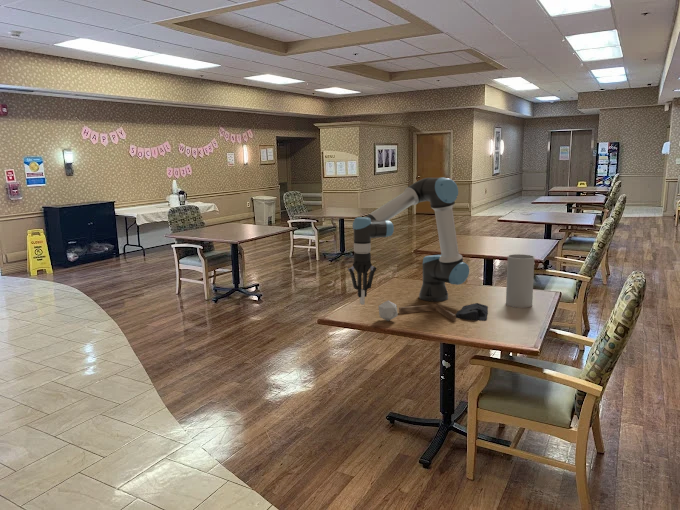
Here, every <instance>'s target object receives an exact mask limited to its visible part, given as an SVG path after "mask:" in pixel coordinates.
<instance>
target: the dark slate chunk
mask: <svg viewBox="0 0 680 510" xmlns="http://www.w3.org/2000/svg"><path fill="white" fill-rule="evenodd" d="M488 308H489V307H488V305H486V304H481V303H478V302H475V303H471V304H465V305H463V306H462V307H461V309H459V310H458V311H457V312H456V313H454V314H455V315H456V319H461V320H466V321H473V322H474V321H475V322H477V321H480V322H481V321H482V322H485V321H487V320H488V314H489V312H488Z"/></svg>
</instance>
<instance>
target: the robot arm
mask: <svg viewBox="0 0 680 510" xmlns="http://www.w3.org/2000/svg"><path fill="white" fill-rule="evenodd" d="M458 196H459V187H458V185H457V183H456V181H454V180H453V179H452V178H448V177H447V178H446V177H424V178H421V179H419V180H418V181H415V182H413V183H412V184H411V185H409V186H407V187H406V188H405V189H404V191H403V192H402V193H400V194H399V195H397V196H395V197H394V198H392V199H391V200H388V201H387V202H386V203H384V204H382V205H381V206H380V207H379V208H377V209H375V210H374V211H372V212H370V213H368V214H367V215H366V216H362V217H361V216H359V217H358V216H357V217H356V218H354V220H353V221H352V230H353V252H354V253H353V262H352V266H351V267H348V268H347V271H348V272H349V273H350V279H351V282H352V286H353V288H354V289H355V290H357V297H358V298H359V304H360V305H361V306H362V305H364V306H365V304H366V303H365V301H366V299H365V298H366V297H367V295H368V294H367V291H368V290H369V289H371V288H372V284H373V279H374V275H375V272H376V271H377V267H376V266H373V265H372V262H371V261H372V259H371V256H372V254H371V250H372V248H371V247H372V246H371V245H372V243H371V242H372V241H371V240H372V239H376V238H377V239H378V238H388V237H391V236H393V234H394V232H395V231H394V230H395V227H394V223H393V222H392V221H391V220H390V219H393V218H394V217H396V216H397V215H399V214H400V213H402V212H403V211H405V210H406V209H408V208H409V207H411V206H416V205H418V204H419V203H423V202H429V205H430V208H431V209H432V210H433V211H434V215H435V221H436V222H435V223H436V229H437V235H438V242H439V248H440V254H432V255H431V254H430V255H426V256H424V257H423V258H422V285H421V288H420V291H419V295H418V296H419V297H418V298H419V299H420V300H422V301H424V302H425V301H426V302H443V301H444V302H445V301H447V300H448V299H449V293H448V289H447V286H446V283H448V284H451V285H456V286H458V285H462V284H464V282H466V280H467V279H468V278H469V276H470V275H469V274H470V266H469V265H468V263H466V262H464V258H463V257H464V256H463V255H462V254H460V252H459V251H460V250H459V246H458V239H457V232H456V225H455V217H454V212H453V210H454V209H453V207H454V206H455V205H456V200H457V199H458ZM369 270H370V271H369ZM354 272H356V274H357V279H356V276H355V273H354ZM368 272H369V275H368Z"/></svg>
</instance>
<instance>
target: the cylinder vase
mask: <svg viewBox="0 0 680 510" xmlns="http://www.w3.org/2000/svg"><path fill="white" fill-rule="evenodd" d="M506 266H507V267H506V269H507V270H506V289H505V290H506V291H505V292H506V294H505V305H507V306H508V307H511V308H513V307H514V308H520V309H526V308H530V307H532V306H533V299H534V298H533V296H534V295H533V293H534V274H535V256H534V255H531V254H523V253H522V254H521V253H520V254H519V253H518V254H517V253H516V254H514V253H513V254H508V255H507V265H506Z"/></svg>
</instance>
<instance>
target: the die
mask: <svg viewBox="0 0 680 510" xmlns="http://www.w3.org/2000/svg"><path fill="white" fill-rule="evenodd" d="M378 315H379V318H381V319H383V320H385V321H387V322H389V321H392V320H393V319H395V318H396V317H399V312H398V307H397V304H396V303H394V302H392V301H390V300H388V299H387V300H386V301H384V302H383V303H381V304H379V305H378Z"/></svg>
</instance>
